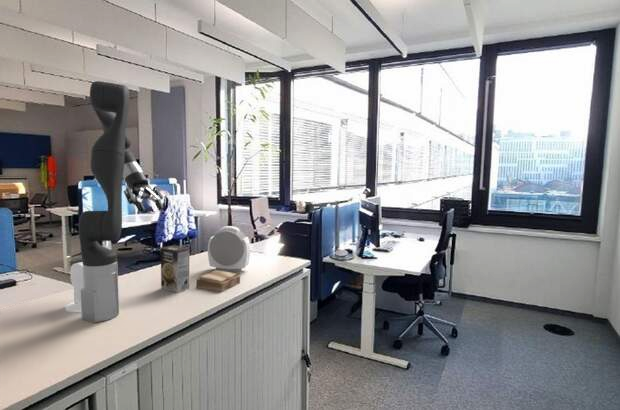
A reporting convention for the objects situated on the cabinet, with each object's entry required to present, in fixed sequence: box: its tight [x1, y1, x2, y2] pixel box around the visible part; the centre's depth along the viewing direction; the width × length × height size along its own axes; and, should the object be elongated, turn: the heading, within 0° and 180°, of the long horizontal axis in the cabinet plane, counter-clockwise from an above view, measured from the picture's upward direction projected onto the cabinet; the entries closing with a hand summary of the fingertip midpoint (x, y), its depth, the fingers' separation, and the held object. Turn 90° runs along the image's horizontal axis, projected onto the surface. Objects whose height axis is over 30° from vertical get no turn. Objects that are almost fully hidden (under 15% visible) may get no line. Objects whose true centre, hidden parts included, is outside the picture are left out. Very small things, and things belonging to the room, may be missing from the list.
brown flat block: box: [196, 269, 241, 293], centre depth 143 cm, size 12×12×4 cm
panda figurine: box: [64, 258, 84, 313], centre depth 119 cm, size 12×11×15 cm
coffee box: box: [159, 244, 191, 294], centre depth 137 cm, size 9×6×16 cm
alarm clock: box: [207, 225, 251, 274], centre depth 162 cm, size 18×8×20 cm, turn 84°
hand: (152, 210), depth 137 cm, fingers open, 8 cm apart
